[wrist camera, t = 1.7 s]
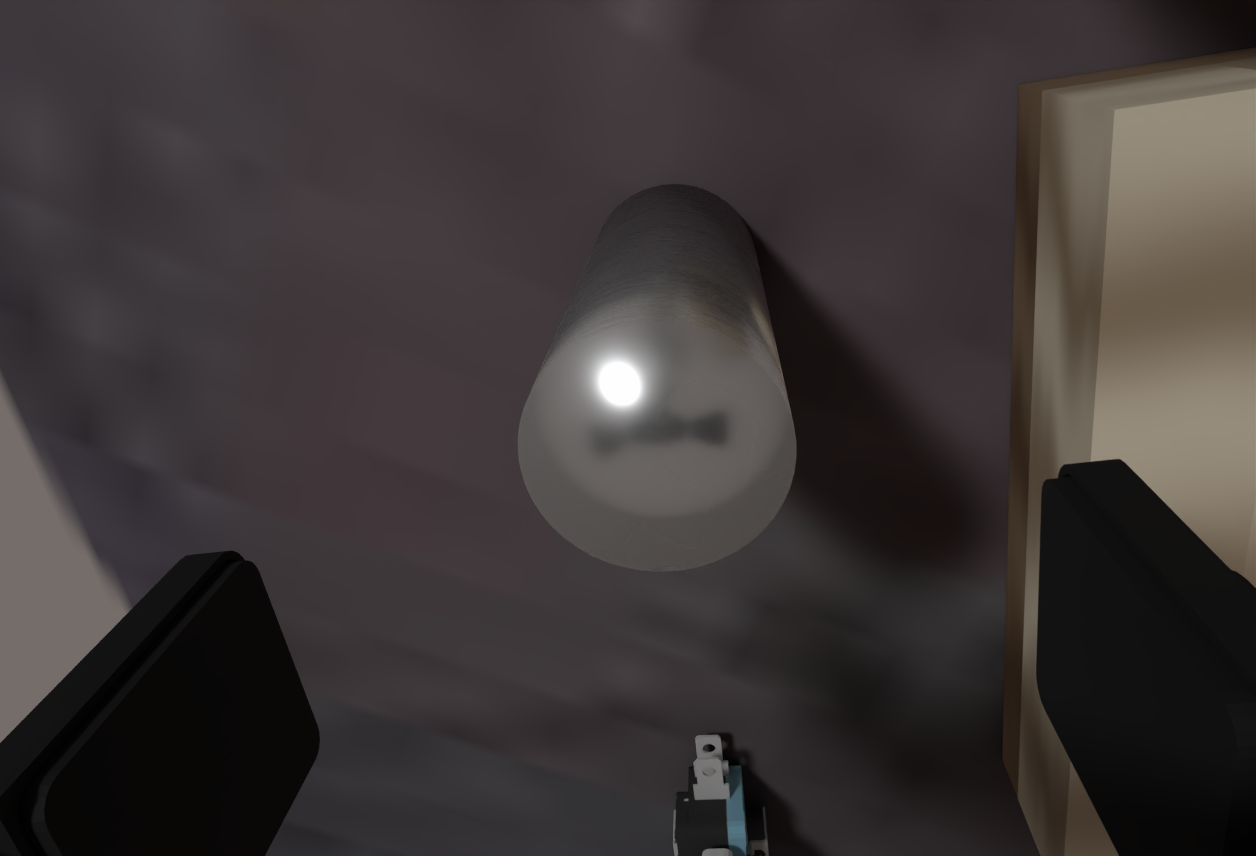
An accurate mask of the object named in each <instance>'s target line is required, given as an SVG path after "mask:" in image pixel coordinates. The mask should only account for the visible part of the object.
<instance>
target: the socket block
mask: <svg viewBox="0 0 1256 856" xmlns="http://www.w3.org/2000/svg"><path fill="white" fill-rule="evenodd" d="M1112 459H1121V460H1122V461H1124V462H1125V463H1126V464H1127V465H1128V466H1129V467H1130V468H1131V469H1132V470H1133V471H1134V472H1135V473H1136V474H1137V475H1138V476H1139V477H1140V478H1141V479H1142V480H1143V481H1144V482H1145V483H1146V484H1147V485H1148V486H1149V487H1150V488H1151V489H1152V490H1153V491H1154V492H1155V493H1156V494H1157V495H1158V496H1159V497H1160V498H1161V499H1162V500H1163V501H1164V502H1165V503H1166V504H1167V505H1168V506H1169V507H1170V508H1171V509H1172V511H1173V512H1174V513H1175V514H1176V515H1177V516H1178V517H1179V518H1180V519H1181V520H1182V521H1183V522H1184V523H1185V524H1186V525H1187V526H1188V527H1189V528H1190V529H1191V530H1192V531H1193V532H1194V533H1195V534H1196V535H1197V536H1198V537H1199V538H1200V539H1201V540H1202V541H1203V542H1204V543H1205V544H1206V545H1207V546H1208V547H1209V548H1210V549H1211V550H1212V551H1213V552H1214V553H1215V554H1216V555H1217V556H1218V557H1219V558H1220V559H1221V560H1222V561H1223V562H1224V563H1225V564H1226V565H1227V566H1228V567H1229V568H1230V569H1231V570H1233V571H1236V572H1238V573H1239V574H1241V575H1242V576H1243V577H1245V578H1246V579H1247V580H1248V581H1249V582H1250V583H1251V584H1252V585H1253V586H1254V587H1255V588H1256V47H1253V48H1247V49H1241V50H1234V51H1228V52H1222V53H1215V54H1209V55H1203V56H1196V57H1190V58H1183V59H1177V60H1171V61H1164V62H1158V63H1152V64H1145V65H1139V66H1133V67H1126V68H1120V69H1113V70H1107V71H1101V72H1094V73H1088V74H1082V75H1075V76H1069V77H1063V78H1056V79H1050V80H1044V81H1037V82H1031V83H1024V84H1019V86H1018V128H1017V170H1016V211H1015V253H1014V295H1013V337H1012V378H1011V420H1010V462H1009V504H1008V546H1007V587H1006V629H1005V671H1004V713H1003V755H1002V760H1003V763H1004V765H1005V768H1006V770H1007V773H1008V776H1009V778H1010V781H1011V783H1012V786H1013V788H1014V791H1015V793H1016V796H1017V798H1018V801H1019V803H1020V806H1021V808H1022V811H1023V813H1024V816H1025V818H1026V821H1027V823H1028V826H1029V828H1030V831H1031V833H1032V836H1033V838H1034V841H1035V843H1036V846H1037V848H1038V851H1039V854H1040V856H1119V855H1118V853H1117V851H1116V849H1115V847H1114V845H1113V843H1112V841H1111V839H1110V837H1109V835H1108V833H1107V831H1106V829H1105V827H1104V826H1103V824H1102V822H1101V820H1100V818H1099V816H1098V814H1097V812H1096V810H1095V808H1094V806H1093V804H1092V802H1091V800H1090V798H1089V796H1088V794H1087V792H1086V790H1085V788H1084V786H1083V784H1082V782H1081V780H1080V778H1079V776H1078V774H1077V772H1076V770H1075V769H1074V767H1073V765H1072V763H1071V761H1070V759H1069V757H1068V755H1067V753H1066V751H1065V749H1064V747H1063V745H1062V743H1061V741H1060V739H1059V737H1058V735H1057V733H1056V731H1055V729H1054V727H1053V725H1052V723H1051V721H1050V719H1049V717H1048V715H1047V714H1046V712H1045V710H1044V707H1043V705H1042V702H1041V699H1040V696H1039V692H1038V687H1037V680H1036V657H1037V624H1038V590H1039V557H1040V523H1041V493H1042V486H1043V483H1044V481H1045V480H1046V479H1054V478H1058V474H1059V471H1060V468H1061V467H1062V466H1063V465H1064V464H1073V463H1083V462H1092V461H1102V460H1112Z"/></svg>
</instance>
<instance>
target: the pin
mask: <svg viewBox="0 0 1256 856" xmlns="http://www.w3.org/2000/svg"><path fill="white" fill-rule="evenodd" d="M518 457H519V463H520V469H521V473H522V476H523V479H524V483H525V486H526V488H527V490H528V492H529V494H530V496H531V498H532V501H533V502H534V504H535V505H536V507H537V508H538V510H539V511H540V513H541V514H542V516H543V517H544V518H545V519H546V520H547V521H548V523H549V524H550V525H551V526H552V527H553V528H554V529H555V530H556V531H557V532H558V533H559V534H560V535H561V536H563V537H564V538H565V539H566V540H568V541H569V542H570V543H572V544H573V545H575V546H576V547H577V548H579V549H581V550H583V551H584V552H586V553H588V554H590V555H591V556H594V557H596V558H598V559H601V560H603V561H605V562H608V563H611V564H615V565H618V566H621V567H625V568H631V569H636V570H643V571H657V572H660V571H678V570H685V569H691V568H695V567H699V566H703V565H707V564H710V563H712V562H715V561H717V560H720V559H722V558H725V557H726V556H728V555H730V554H732V553H734V552H736V551H738V550H739V549H741V548H742V547H743V546H745V545H746V544H748V543H749V542H751V541H752V540H753V539H754V538H755V537H756V536H757V535H759V534H760V533H761V532H762V531H763V530H764V529H765V528H766V527H767V525H768V524H769V523H770V522H771V521H772V519H773V518H774V517H775V516H776V514H777V512H778V511H779V509H780V508H781V506H782V505H783V503H784V501H785V498H786V496H787V494H788V492H789V489H790V486H791V483H792V480H793V476H794V472H795V465H796V457H797V454H796V436H795V430H794V424H793V419H792V414H791V410H790V405H789V401H788V396H787V392H786V387H785V383H784V378H783V374H782V369H781V364H780V360H779V355H778V351H777V346H776V342H775V337H774V333H773V328H772V324H771V319H770V314H769V310H768V305H767V301H766V296H765V292H764V287H763V283H762V278H761V274H760V269H759V264H758V260H757V255H756V251H755V246H754V243H753V240H752V237H751V234H750V232H749V230H748V228H747V226H746V224H745V223H744V221H743V219H742V218H741V216H740V215H739V214H738V213H737V212H736V211H735V209H734V208H733V207H731V206H730V205H729V204H728V203H727V202H726V201H724V200H723V199H721V198H720V197H718V196H717V195H715V194H713V193H711V192H709V191H707V190H704V189H701V188H698V187H695V186H689V185H682V184H669V185H660V186H656V187H651V188H649V189H646V190H643V191H641V192H639V193H637V194H635V195H633V196H631V197H630V198H628V199H627V200H626V201H624V202H623V203H622V204H621V205H619V206H618V207H617V208H616V209H615V210H614V211H613V213H612V214H611V215H610V216H609V217H608V219H607V220H606V222H605V224H604V225H603V227H602V229H601V231H600V233H599V236H598V238H597V240H596V242H595V245H594V247H593V249H592V252H591V254H590V256H589V259H588V261H587V263H586V265H585V268H584V270H583V272H582V275H581V277H580V279H579V282H578V284H577V286H576V288H575V291H574V293H573V295H572V298H571V300H570V302H569V305H568V307H567V309H566V312H565V314H564V316H563V318H562V321H561V323H560V325H559V328H558V330H557V332H556V335H555V337H554V339H553V341H552V344H551V346H550V348H549V351H548V353H547V355H546V358H545V360H544V362H543V365H542V367H541V369H540V371H539V374H538V376H537V378H536V381H535V383H534V385H533V388H532V390H531V392H530V395H529V397H528V399H527V401H526V404H525V406H524V409H523V413H522V416H521V420H520V425H519V433H518Z"/></svg>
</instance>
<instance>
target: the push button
mask: <svg viewBox="0 0 1256 856" xmlns="http://www.w3.org/2000/svg"><path fill="white" fill-rule="evenodd" d="M695 742H696V750H697V759H696V760H695V761H694V762H693V764H694V767H689V786H688V792H677V793H676V809H674V823H673V839H674V841H673V847H674V853H675V856H769V852H768V839H767V827H766V814H765V807H763V819H764V832H765V839H764V840H752V841H750V842H749V845H748V834H747V824H746V813H745V803H744V792H743V782H742V771H741V765H739V766H728V760H723V756H722V746H721V737H720V736H719V735H698V736H697V737H695ZM706 744H712V745H714V746H715V750H714V751H712V752H706V751H705V750H703V746H704V745H706Z"/></svg>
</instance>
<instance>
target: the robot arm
mask: <svg viewBox="0 0 1256 856" xmlns="http://www.w3.org/2000/svg"><path fill="white" fill-rule="evenodd" d="M1036 680H1037V687H1038V692H1039V696H1040V699H1041V702H1042V705H1043V707H1044V710H1045V712H1046V714H1047V715H1048V717H1049V719H1050V721H1051V723H1052V725H1053V727H1054V729H1055V731H1056V733H1057V735H1058V737H1059V739H1060V741H1061V743H1062V745H1063V747H1064V749H1065V751H1066V753H1067V755H1068V757H1069V759H1070V761H1071V763H1072V765H1073V767H1074V769H1075V770H1076V772H1077V774H1078V776H1079V778H1080V780H1081V782H1082V784H1083V786H1084V788H1085V790H1086V792H1087V794H1088V796H1089V798H1090V800H1091V802H1092V804H1093V806H1094V808H1095V810H1096V812H1097V814H1098V816H1099V818H1100V820H1101V822H1102V824H1103V826H1104V827H1105V829H1106V831H1107V833H1108V835H1109V837H1110V839H1111V841H1112V843H1113V845H1114V847H1115V849H1116V851H1117V853H1118V855H1119V856H1256V588H1255V587H1254V586H1253V585H1252V584H1251V583H1250V582H1249V581H1248V580H1247V579H1246V578H1245V577H1243V576H1242V575H1241V574H1239V573H1238V572H1236V571H1233V570H1231V569H1230V568H1229V567H1228V566H1227V565H1226V564H1225V563H1224V562H1223V561H1222V560H1221V559H1220V558H1219V557H1218V556H1217V555H1216V554H1215V553H1214V552H1213V551H1212V550H1211V549H1210V548H1209V547H1208V546H1207V545H1206V544H1205V543H1204V542H1203V541H1202V540H1201V539H1200V538H1199V537H1198V536H1197V535H1196V534H1195V533H1194V532H1193V531H1192V530H1191V529H1190V528H1189V527H1188V526H1187V525H1186V524H1185V523H1184V522H1183V521H1182V520H1181V519H1180V518H1179V517H1178V516H1177V515H1176V514H1175V513H1174V512H1173V511H1172V509H1171V508H1170V507H1169V506H1168V505H1167V504H1166V503H1165V502H1164V501H1163V500H1162V499H1161V498H1160V497H1159V496H1158V495H1157V494H1156V493H1155V492H1154V491H1153V490H1152V489H1151V488H1150V487H1149V486H1148V485H1147V484H1146V483H1145V482H1144V481H1143V480H1142V479H1141V478H1140V477H1139V476H1138V475H1137V474H1136V473H1135V472H1134V471H1133V470H1132V469H1131V468H1130V467H1129V466H1128V465H1127V464H1126V463H1125V462H1124V461H1122V460H1121V459H1112V460H1102V461H1092V462H1083V463H1073V464H1064V465H1063V466H1062V467H1061V468H1060V471H1059V474H1058V478H1054V479H1046V480H1045V481H1044V483H1043V486H1042V493H1041V523H1040V557H1039V590H1038V624H1037V657H1036ZM319 742H320V737H319V729H318V726H317V723H316V720H315V718H314V715H313V712H312V710H311V707H310V704H309V702H308V699H307V697H306V694H305V691H304V689H303V686H302V683H301V681H300V678H299V675H298V673H297V670H296V668H295V665H294V662H293V660H292V657H291V654H290V652H289V649H288V647H287V644H286V641H285V639H284V636H283V633H282V631H281V628H280V625H279V623H278V620H277V618H276V615H275V612H274V610H273V607H272V604H271V602H270V599H269V597H268V594H267V591H266V589H265V586H264V583H263V581H262V578H261V575H260V573H259V571H258V569H257V567H256V566H255V565H254V564H253V563H252V562H250V561H245V560H244V558H243V557H242V556H241V555H240V554H239V553H237V552H235V551H224V552H214V553H204V554H195V555H188V556H185V557H184V558H182V559H181V560H180V561H179V562H178V563H177V564H176V565H175V566H174V567H173V568H172V569H171V570H170V571H169V572H168V573H167V574H166V575H165V576H164V577H163V578H162V579H161V580H160V581H159V582H158V583H157V584H156V585H155V586H154V587H153V588H152V589H151V590H150V591H149V592H148V593H147V594H146V595H145V596H144V597H143V598H142V599H141V600H140V601H139V602H138V603H137V604H136V605H135V606H134V607H133V608H132V609H131V610H130V612H129V613H128V614H127V615H126V616H125V617H124V618H123V619H122V620H121V621H120V622H119V623H118V624H117V625H116V626H115V627H114V628H113V629H112V630H111V631H110V632H109V633H108V634H107V635H106V636H105V637H104V638H103V639H102V640H101V641H100V642H99V643H98V644H97V645H96V646H95V647H94V648H93V649H92V650H91V651H90V652H89V653H88V654H87V655H86V656H85V657H84V658H83V659H82V660H81V661H80V662H79V663H78V665H76V666H75V668H74V669H73V670H72V671H71V672H70V673H69V674H68V675H67V676H66V677H65V678H64V679H63V680H62V681H61V682H60V683H59V684H58V685H57V686H56V687H55V688H54V689H53V690H52V691H51V692H50V693H49V694H48V695H47V696H46V697H45V698H44V699H43V700H42V701H41V702H40V703H39V704H38V705H37V706H36V707H35V708H34V709H33V710H32V711H31V712H30V713H29V715H27V716H26V718H25V719H24V720H22V721H21V722H20V723H19V725H18V726H17V727H16V728H15V729H14V730H13V731H12V732H11V733H10V734H9V735H8V736H7V737H6V738H5V739H4V740H3V741H2V742H1V743H0V856H265V854H266V853H267V851H268V849H269V847H270V845H271V843H272V841H273V839H274V837H275V835H276V834H277V832H278V830H279V828H280V826H281V824H282V822H283V820H284V818H285V816H286V815H287V813H288V811H289V809H290V807H291V805H292V803H293V801H294V799H295V798H296V796H297V794H298V792H299V790H300V788H301V786H302V784H303V782H304V780H305V779H306V777H307V775H308V773H309V771H310V769H311V767H312V765H313V763H314V761H315V759H316V757H317V754H318V750H319Z"/></svg>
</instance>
